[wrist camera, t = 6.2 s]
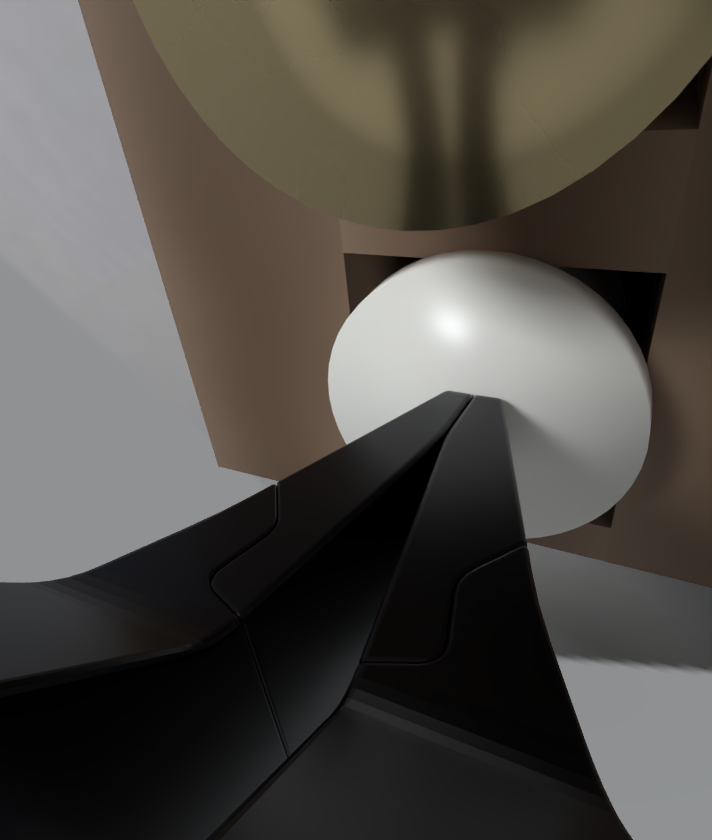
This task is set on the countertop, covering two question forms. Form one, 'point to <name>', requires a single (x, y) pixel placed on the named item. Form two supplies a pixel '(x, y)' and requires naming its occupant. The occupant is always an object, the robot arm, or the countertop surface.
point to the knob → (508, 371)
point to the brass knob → (428, 94)
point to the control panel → (392, 250)
